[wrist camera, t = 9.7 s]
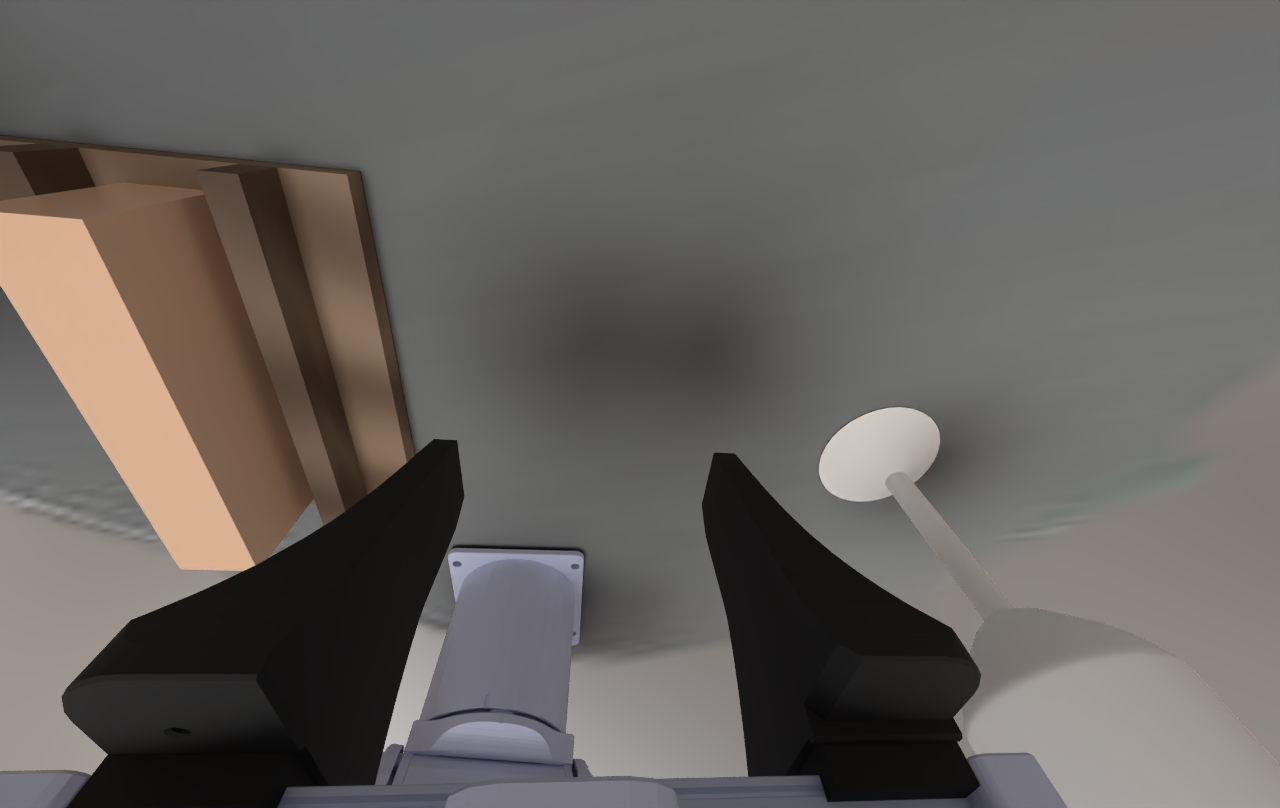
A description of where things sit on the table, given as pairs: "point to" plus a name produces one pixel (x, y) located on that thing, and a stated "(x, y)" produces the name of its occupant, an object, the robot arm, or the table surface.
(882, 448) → the champagne flute
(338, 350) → the ribbed wooden board
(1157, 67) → the table surface
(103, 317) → the tan rectangular bar
